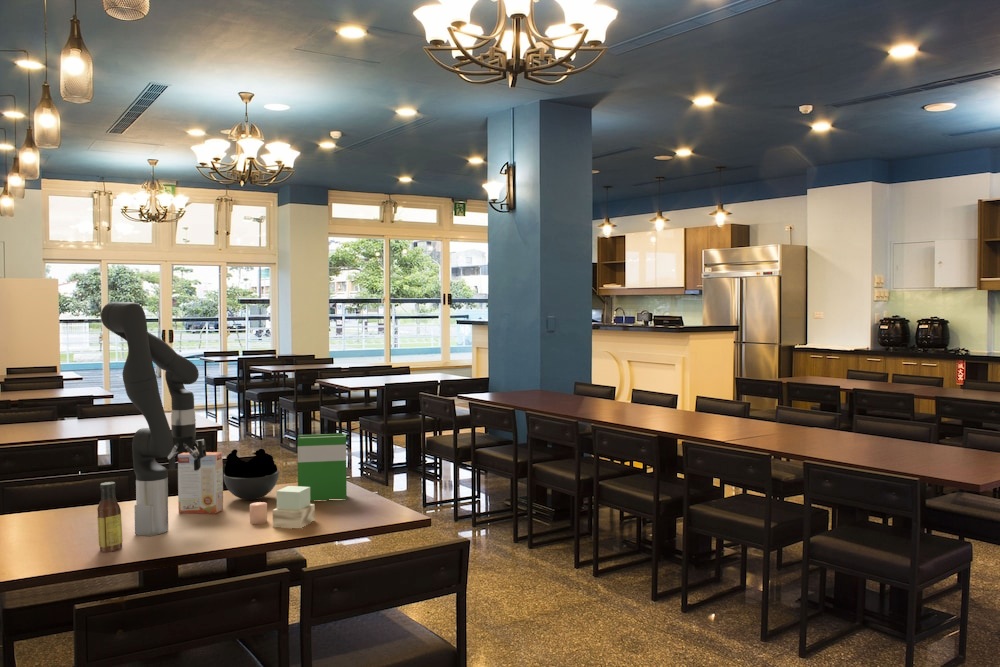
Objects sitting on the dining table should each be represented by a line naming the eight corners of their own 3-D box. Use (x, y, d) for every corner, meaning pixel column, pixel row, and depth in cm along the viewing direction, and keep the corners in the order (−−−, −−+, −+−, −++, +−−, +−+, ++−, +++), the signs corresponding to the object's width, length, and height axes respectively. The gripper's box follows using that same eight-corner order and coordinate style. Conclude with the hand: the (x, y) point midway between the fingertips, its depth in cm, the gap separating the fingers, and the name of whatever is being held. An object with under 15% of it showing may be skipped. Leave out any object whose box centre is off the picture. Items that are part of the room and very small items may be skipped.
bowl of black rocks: (290, 497, 290) (290, 448, 289) (246, 508, 273) (246, 456, 272) (256, 490, 301) (255, 443, 300) (212, 501, 284) (211, 451, 284)
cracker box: (224, 509, 271) (223, 451, 271) (216, 514, 265) (215, 454, 265) (186, 508, 273) (185, 450, 272) (177, 513, 267) (177, 453, 266)
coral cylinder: (261, 524, 252) (261, 506, 252) (246, 523, 253) (246, 505, 253) (270, 520, 257) (270, 502, 257) (255, 519, 259) (255, 501, 258)
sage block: (299, 510, 248) (299, 492, 248) (276, 509, 249) (276, 491, 249) (310, 504, 256) (310, 486, 255) (288, 503, 257) (288, 485, 257)
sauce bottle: (126, 546, 228) (125, 480, 228) (116, 552, 222) (115, 485, 221) (104, 546, 228) (103, 480, 228) (93, 553, 222) (92, 485, 221)
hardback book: (298, 502, 282) (297, 438, 281) (298, 498, 289) (298, 435, 288) (346, 500, 285) (346, 436, 285) (346, 495, 293) (345, 433, 292)
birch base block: (300, 529, 247) (300, 511, 247) (272, 528, 249) (272, 509, 249) (314, 521, 256) (314, 504, 256) (287, 520, 259) (287, 502, 258)
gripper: (157, 423, 252) (158, 472, 253) (197, 424, 251) (199, 473, 252) (169, 419, 260) (170, 466, 261) (209, 420, 258) (210, 467, 259)
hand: (184, 469), depth 256 cm, fingers open, 8 cm apart
